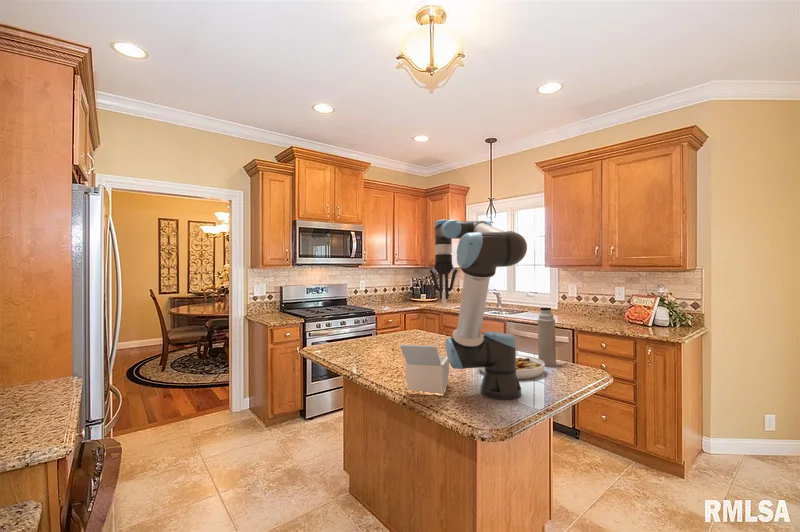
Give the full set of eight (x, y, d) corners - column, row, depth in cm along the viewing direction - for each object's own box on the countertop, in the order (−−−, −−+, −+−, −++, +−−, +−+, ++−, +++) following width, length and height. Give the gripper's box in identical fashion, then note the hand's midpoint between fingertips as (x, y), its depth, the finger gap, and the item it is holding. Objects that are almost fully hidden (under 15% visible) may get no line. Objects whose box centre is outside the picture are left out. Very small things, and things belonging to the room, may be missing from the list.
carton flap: (400, 344, 139) (399, 345, 138) (435, 345, 135) (435, 346, 135) (407, 363, 148) (407, 364, 148) (441, 364, 145) (440, 365, 144)
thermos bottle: (558, 364, 187) (556, 307, 187) (553, 367, 181) (552, 308, 181) (541, 362, 192) (540, 306, 192) (536, 365, 186) (535, 308, 186)
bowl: (535, 364, 190) (535, 348, 190) (553, 382, 160) (552, 363, 160) (474, 363, 193) (474, 348, 193) (480, 381, 163) (480, 363, 163)
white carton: (414, 382, 163) (413, 354, 163) (449, 384, 159) (449, 356, 159) (405, 393, 149) (405, 363, 149) (444, 396, 145) (443, 364, 145)
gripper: (458, 254, 175) (459, 305, 174) (430, 255, 179) (431, 305, 178) (457, 253, 168) (457, 306, 167) (427, 254, 171) (428, 306, 170)
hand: (444, 306), depth 172 cm, fingers closed
